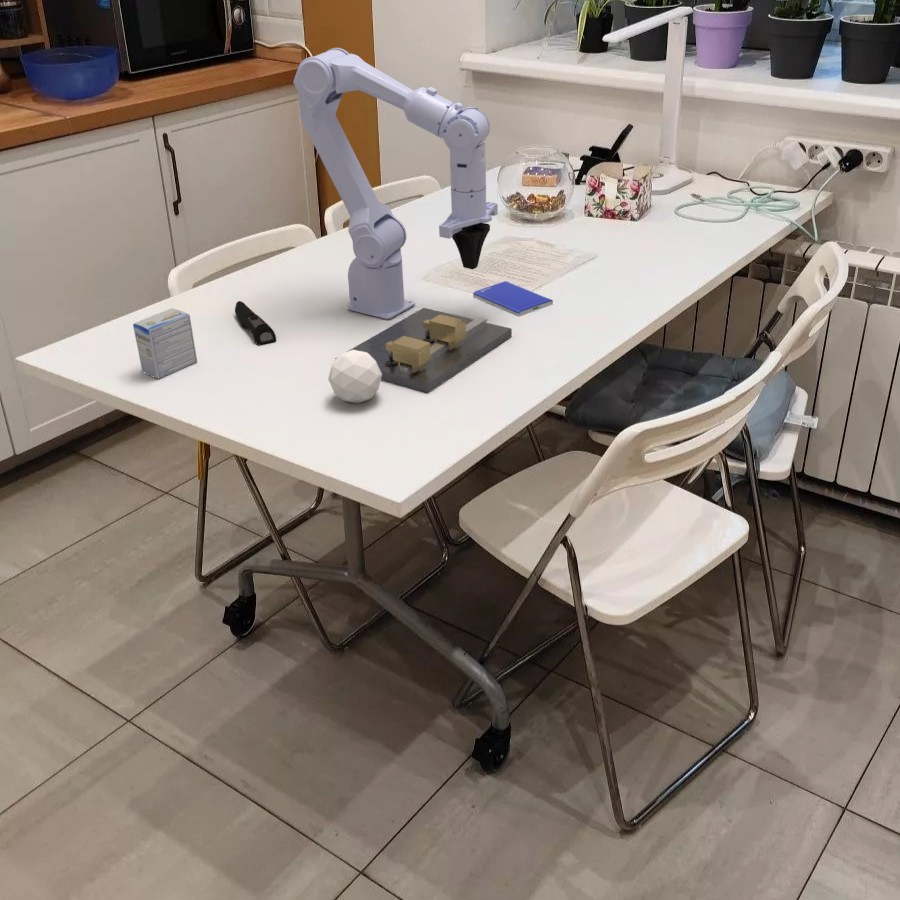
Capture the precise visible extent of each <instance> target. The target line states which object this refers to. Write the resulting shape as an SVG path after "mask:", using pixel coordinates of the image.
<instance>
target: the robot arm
mask: <svg viewBox="0 0 900 900" xmlns="http://www.w3.org/2000/svg"><path fill="white" fill-rule="evenodd" d="M293 85H294V86H295V87H294V88H295V89H296V90H297V94H298V104H299V105H298V106H299V115H300V116H299V117H300V120H301V122H302V124H303V126H304V128H305V130H306V132H307V134H308V136H309V138H310V140H311V142H312V144H313V146H314V148H315V149H316V151H317V154H318V156H319V157H320V159H321V161H322V164H323V166H324V167H325V169H326V172H327V173H328V175H329V177H330V179H331V181H332V184H333V185H334V187H335V189H336V191H337V192H338V195H339V197H340V199H341V201H342V203H343V205H344V207H345V209H346V210H347V212H348V214H349V221H348V222H349V223H348V234H349V236H350V238H351V242H352V250H353V253H354V256H355V258H354V259H352V261H351V262H350V264H349V267H348V270H347V271H348V272H347V280H348V293H349V304H350V305H348V306H347V310H349V311H352V312H357V313H361V314H364V315H369V316H373V317H377V318H381V319H385V320H390V319H392V318H394V317H397V315H399V314H401V313H403V312H405V311H406V310H409V309H411V308H412V307H414V306H415V305H416V304H415V302H414V301H409V300H406V299H405V290H404V289H405V287H404V274H403V273H404V272H403V255H402V251H401V250H402V249H401V248H403V247H404V245H405V244H406V241H407V230H406V228H405V226H404V224H403V223H402V222H401V221H400V220H399V219H398V218H397V217H396V216H395V215H394V213H393V212H392V210H391V209H390V207H389V206H388V205H387V204H384V203H383V202H381V201H379V200H378V197H377V195H376V194H375V192H374V189H373V187H372V186H371V183H370V181H369V180H368V178H367V176H366V173H365V171H364V170H363V168H362V166H361V164H360V161H359V160H358V159H359V158H357V155H356V153H355V152H354V149H353V147H352V145H351V144H350V141H349V139H348V138H347V136H346V133H345V131H344V129H343V128H342V125H341V124H340V122H339V119H338V118H337V112H338V108H339V105H340V102H341V99H342V96H344V94H345V93H349V92H354V91H360V92H363V93H365V94H366V95H367V94H368V95H369V96H371V97H374V98H376V99H379V100H380V101H382V102H385V103H387V104H389V105H392V106H394V107H396V108H398V109H401V110H403V112H404V115H405V117H406V120H407V121H408V122H409V123H411V124H413V125H416V126H417V127H419V128H421V129H422V130H425V131H427V132H429V133H431V134H433V135H434V136H436V137H438V138H440V139H442V140H443V141H444V143H445V145H446V146H447V148H448V149H449V158H450V159H449V165H450V167H449V169H450V171H449V172H450V173H449V174H450V196H451V197H450V199H451V200H450V201H451V213H450V214H449V215H448V217H447V218H445V219H446V220H444V222H442V223H441V224H439V225H438V229H439V230H438V233H439V238H444V239H451V238H452V240H453V241H454V244H455V246H456V248H457V251H458V254H459V256H460V259H461V260H460V261H461V263H462V267H463V268H464V269H468V270H475V269H477V268H478V266H479V262H480V258H481V253H482V249H483V247H484V242H485V240H486V238H487V236H488V234H489V232H490V231H491V224H490V223H489V222H491V221H492V220H493V216H494V217H495V216H497V215H499V213H498V212H499V211H498V209H499V208H498V207H499V206H498V205H499V204H498V203H497V202H490V201H487V174H486V173H487V171H486V169H487V165H486V142H484V141H486V139H487V138H488V136H489V134H490V130H491V127H490V126H491V125H490V121H489V118H488V117H487V115H486V114H485V113H484V112H483V111H481V110H480V109H479V108H478V107H476V106H468V107H465V108H464V104H463V103H461V102H459V101H458V102H456V103H455V102H453V101H452V100H450V99H448V98H446V97H444V96H442V95H440V94H438V89H436V88H434V87H432V86H430V87H428V88H427V87H423V86H422V87H418V88H417V89H414V90H413V89H411V88H410V87H408V86H407V85H405V84H403V83H401V82H399V81H398V80H396V79H395V78H392V76H389V75H388V74H386V73H384V72H382V71H381V70H379V69H377V68H376V67H374V66H372V65H371V64H369V63H367V62H366V61H364V59H362V58H361V57H360V56H358V55H357V54H354V53H349V52H348V51H347V50H345V49H343V48H341V47H333V48H330V49H328V50H326V51H325V52H322V53H319V54H317V55H314V56H310V57H306V58H304V59H303V60H302V61H301V62H300V63H299V65H298V66H297V70H296V73H295V76H294V79H293Z"/></svg>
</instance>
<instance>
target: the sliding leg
mask: <svg viewBox="0 0 900 900" xmlns="http://www.w3.org/2000/svg"><path fill="white" fill-rule="evenodd" d="M423 328H425V336H426V339H427V340H428V339H431V338H434V339H435V344H436V343H438V342H439V341H441V340H442V341H446V342H449V349H450V350H451V349H452V348H454V347H456V346H457V345H459V344H460V343H461V340H463V339H464V338H466V320H462V319H457V318H453V317H449V316H445V315H441V314H440V315H438V316H436V317H435V318H433V319H431V320H425V321H424V322H423Z"/></svg>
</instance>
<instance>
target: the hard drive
mask: <svg viewBox="0 0 900 900" xmlns="http://www.w3.org/2000/svg"><path fill="white" fill-rule="evenodd" d="M472 298H474V299H476V298H477V299H476V300H479V301H481V302H484V303H486V304H488V305H491V306H493V307H495V308H498V309H500V310H502V311H505V312H507V313H509V314H512V315H514V316H517V317H522V316H524V315H527V314H529V313H532V312H535V311H537V310H540V309H544V308H546V307H548V306H551V305H553V304H554V301H553V299H550V298H548V297H546V296H543V295H542V294H541V295H540V294H537V293H535V292H534V291H532V290H528V289H526V288H523V287H521V286H519V285H516V284H515V283H511V282H509V281H506V280H504V281H502V282H498V283H496V284H495V283H494V284H492V285H489V286H486V287H484V288H481V289H477V290H475V291H473V293H472Z"/></svg>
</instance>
